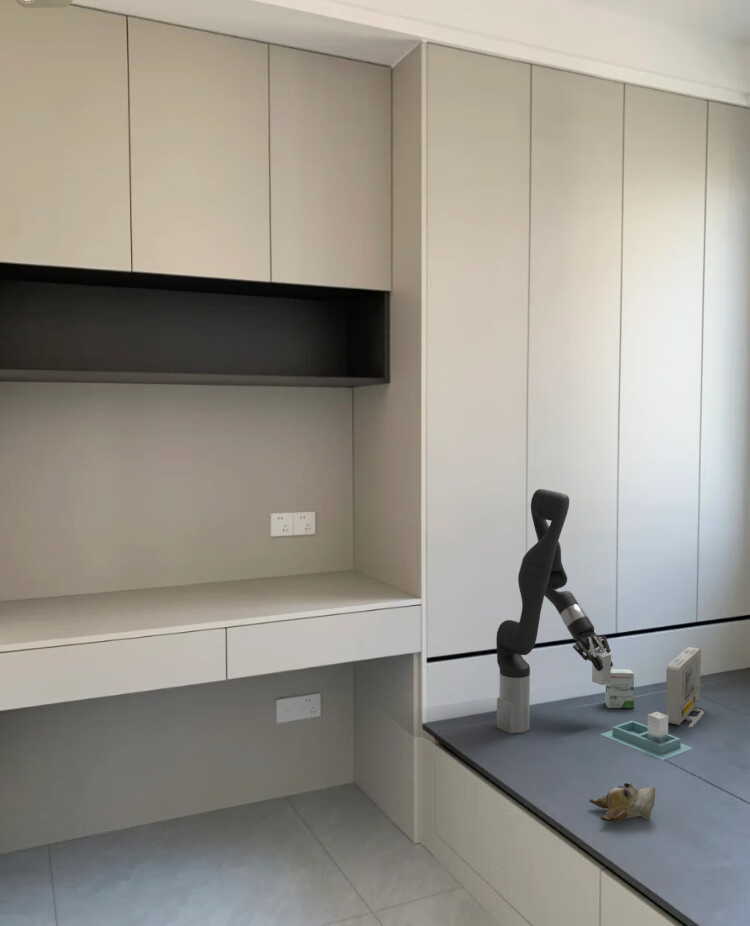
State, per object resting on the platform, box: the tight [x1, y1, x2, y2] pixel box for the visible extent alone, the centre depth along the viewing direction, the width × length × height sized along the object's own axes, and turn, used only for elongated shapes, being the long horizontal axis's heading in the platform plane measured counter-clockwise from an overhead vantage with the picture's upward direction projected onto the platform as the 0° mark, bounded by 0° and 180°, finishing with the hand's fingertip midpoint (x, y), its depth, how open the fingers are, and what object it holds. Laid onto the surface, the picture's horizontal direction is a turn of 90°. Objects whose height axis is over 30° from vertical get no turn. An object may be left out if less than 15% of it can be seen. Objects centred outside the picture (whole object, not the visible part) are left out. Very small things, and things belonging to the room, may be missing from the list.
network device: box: [665, 646, 705, 728], centre depth 266 cm, size 26×9×20 cm, turn 145°
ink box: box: [604, 668, 635, 709], centre depth 277 cm, size 9×5×12 cm, turn 84°
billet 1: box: [591, 651, 612, 686], centre depth 262 cm, size 4×4×9 cm
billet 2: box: [647, 711, 669, 744], centre depth 241 cm, size 4×4×9 cm
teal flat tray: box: [600, 719, 694, 761], centre depth 245 cm, size 14×22×4 cm, turn 35°
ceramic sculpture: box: [588, 782, 656, 824], centre depth 203 cm, size 11×9×15 cm
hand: (605, 668), depth 261 cm, fingers closed on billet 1, 4 cm apart
